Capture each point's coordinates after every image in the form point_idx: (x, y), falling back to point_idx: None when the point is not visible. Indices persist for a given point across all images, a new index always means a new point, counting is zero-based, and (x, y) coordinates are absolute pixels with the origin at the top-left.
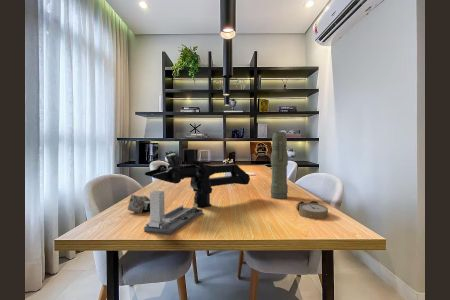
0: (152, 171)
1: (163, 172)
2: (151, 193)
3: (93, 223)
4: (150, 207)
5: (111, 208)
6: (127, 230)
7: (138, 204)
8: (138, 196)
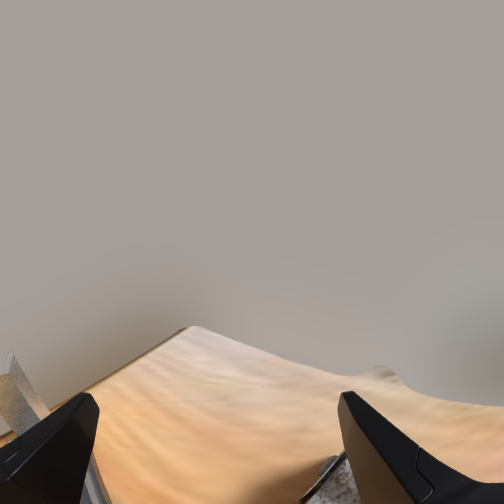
0: (380, 466)
1: (8, 446)
2: (9, 356)
3: (263, 368)
4: (37, 397)
5: (425, 397)
6: (132, 415)
7: (320, 476)
8: (336, 459)
